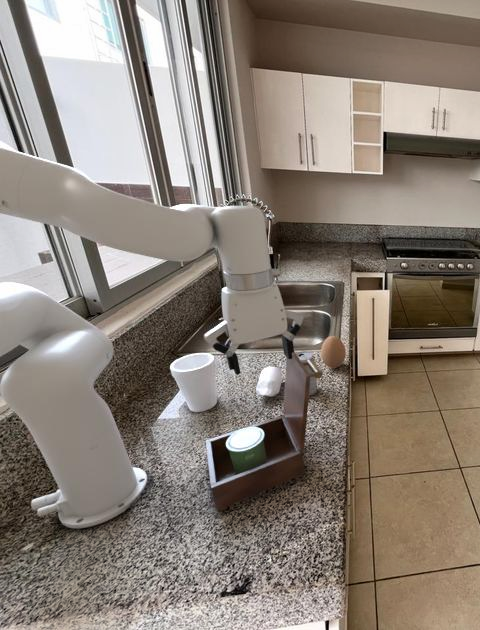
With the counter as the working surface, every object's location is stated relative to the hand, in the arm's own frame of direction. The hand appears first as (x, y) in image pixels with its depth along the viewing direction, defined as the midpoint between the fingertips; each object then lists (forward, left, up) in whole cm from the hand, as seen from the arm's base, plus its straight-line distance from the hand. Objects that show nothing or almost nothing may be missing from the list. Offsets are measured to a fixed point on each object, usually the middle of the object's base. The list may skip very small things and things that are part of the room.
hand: (263, 363), depth 67 cm
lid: (+4, -2, -8) cm, 9 cm away
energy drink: (+12, +20, -23) cm, 33 cm away
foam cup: (-13, +29, -23) cm, 39 cm away
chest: (-5, -2, -23) cm, 24 cm away
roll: (+3, +25, -23) cm, 34 cm away
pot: (-6, -2, -22) cm, 23 cm away
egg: (+24, +30, -23) cm, 45 cm away
